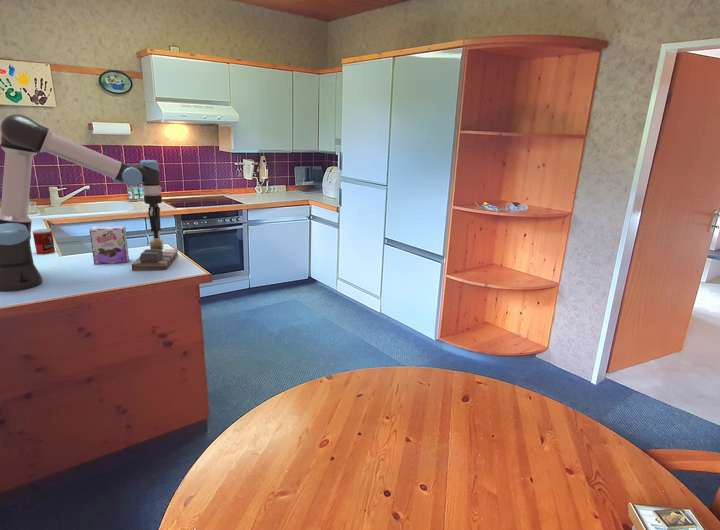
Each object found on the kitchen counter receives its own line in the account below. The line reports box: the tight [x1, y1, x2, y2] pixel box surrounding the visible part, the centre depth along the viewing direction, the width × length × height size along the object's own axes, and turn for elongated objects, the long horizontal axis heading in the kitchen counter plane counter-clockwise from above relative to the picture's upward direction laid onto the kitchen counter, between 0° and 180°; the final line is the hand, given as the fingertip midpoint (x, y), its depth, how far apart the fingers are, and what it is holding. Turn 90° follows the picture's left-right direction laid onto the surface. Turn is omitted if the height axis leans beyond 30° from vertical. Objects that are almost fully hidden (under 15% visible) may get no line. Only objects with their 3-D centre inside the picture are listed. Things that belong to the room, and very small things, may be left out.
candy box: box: [89, 225, 130, 265], centre depth 209 cm, size 14×6×16 cm, turn 105°
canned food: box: [32, 228, 56, 255], centre depth 223 cm, size 8×8×11 cm
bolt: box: [149, 240, 165, 250], centre depth 211 cm, size 10×5×6 cm, turn 11°
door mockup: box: [131, 248, 179, 272], centre depth 211 cm, size 26×14×7 cm, turn 11°
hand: (157, 244), depth 216 cm, fingers closed
